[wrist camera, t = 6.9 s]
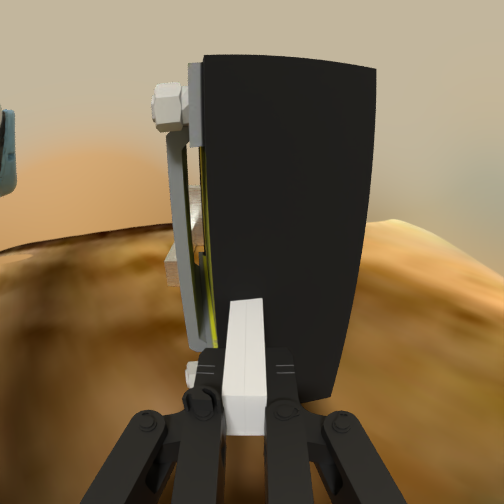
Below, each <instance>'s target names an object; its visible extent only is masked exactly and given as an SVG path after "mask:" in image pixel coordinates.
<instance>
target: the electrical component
mask: <svg viewBox="0 0 504 504" xmlns="http://www.w3.org/2000/svg"><path fill="white" fill-rule="evenodd" d="M151 107H152V119H153V121H154V122H155V123H156V128H157V129H158V130H159V132H169V133H168V134H167V136H166V143H167V160H168V175H169V188H170V200H171V210H172V222H173V231H174V241H175V250H176V258H177V266H178V274H179V282H180V289H181V296H182V303H183V310H184V317H185V323H186V330H187V336H188V342H189V348H190V349H192V350H194V351H196V352H202V351H203V350H204V349H205V348H226V343H227V333H228V322H229V312H230V302H231V301H238V300H248V299H257V298H262V300H263V321H264V343H265V348H273V347H287V348H288V350H289V351H290V352H291V354H292V355H293V362H294V369H295V376H296V383H297V391H298V398H299V402H300V403H305V402H310V401H314V400H319V399H323V398H328V397H331V393H332V390H333V386H334V382H335V378H336V375H337V371H338V367H339V363H340V359H341V355H342V350H343V346H344V342H345V337H346V333H347V329H348V324H349V319H350V314H351V310H352V305H353V299H354V294H355V289H356V284H357V278H358V272H359V266H360V260H361V254H362V248H363V241H364V234H365V227H366V219H367V211H368V203H369V194H370V184H371V173H372V161H373V149H374V132H375V113H376V69H374V68H369V67H364V66H358V65H352V64H346V63H340V62H333V61H325V60H317V59H308V58H298V57H285V56H267V55H204V58H203V62H201V63H188V86H182V87H181V85H180V83H179V82H175V83H164V84H158V85H157V86H156V88H155V93H154V95H153V96H152V102H151ZM189 141H190V147H199V166H200V167H199V168H200V189H201V207H202V224H203V239H204V252H199V266H198V265H197V264H195V263H194V253H193V242H192V230H191V216H190V202H189V187H188V169H187V149H186V144H187V143H188V142H189ZM197 366H198V361H194V362H188V364H187V370H185V373H186V382H187V387H188V388H193V387H194V381H195V376H196V370H197Z"/></svg>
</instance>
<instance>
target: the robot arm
mask: <svg viewBox="0 0 504 504" xmlns="http://www.w3.org/2000/svg"><path fill="white" fill-rule="evenodd" d="M16 184H17V175H16V157H15V113H14V111H13V110H7V109H5V110H3V111H2V109H1V106H0V197H2V196H4V195H7V194H10V193H11V192H13V191H14V189H15V187H16ZM182 400H183V404H184V408H185V409H184V410H182V411H181V412H178V413H175V414H170V415H164V416H162V415H161V414H160V413H158V412H156V411H153V410H144V411H140V412H138V413H136V414H135V415H134V416H133V418H132V419H131V420H130V422H129V424H128V425H127V427H126V428H125V430H124V432H123V433H122V435H121V437H120V438H119V440H118V441H117V443H116V445H115V446H114V448H113V450H112V451H111V453H110V454H109V456H108V458H107V459H106V461H105V463H104V464H103V466H102V467H101V469H100V471H99V472H98V474H97V476H96V477H95V479H94V481H93V482H92V484H91V486H90V487H89V489H88V490H87V492H86V494H85V495H84V497H83V499H82V500H81V502H80V504H157V502H158V500H159V498H160V496H161V494H162V492H163V490H164V488H165V486H166V484H167V481H168V479H169V477H170V475H171V473H172V471H173V469H174V467H175V465H176V462H177V467H176V474H175V480H174V487H173V494H172V501H171V504H224V486H225V467H226V448H227V447H226V435H264V466H265V504H314V500H313V491H312V482H311V473H310V465H309V461H312V462H314V464H315V466H316V468H317V470H318V473H319V475H320V477H321V479H322V482H323V484H324V486H325V488H326V491H327V493H328V495H329V497H330V499H331V502H332V504H407V503H406V501H405V499H404V497H403V496H402V494H401V492H400V490H399V489H398V487H397V485H396V484H395V482H394V480H393V478H392V477H391V475H390V473H389V471H388V470H387V468H386V466H385V465H384V463H383V461H382V459H381V458H380V456H379V454H378V453H377V451H376V449H375V447H374V446H373V444H372V442H371V441H370V439H369V437H368V435H367V434H366V432H365V430H364V429H363V427H362V425H361V424H360V422H359V420H358V419H357V418H356V417H355V415H353V414H351V413H350V412H347V411H335V412H333V413H331V414H329V415H328V416H323V415H317V414H314V413H310V412H309V411H307V410H305V409H304V408H303V407H302V406H301V404H300V402H299V398H298V391H297V383H296V376H295V369H294V362H293V355H292V354H291V352H290V351H289V350H288V348H287V347H273V348H265V343H264V321H263V300H262V298H257V299H248V300H238V301H231V302H230V312H229V322H228V333H227V343H226V348H205V349H204V350H203V351H202V353H201V354H200V355H199V359H198V366H197V370H196V376H195V381H194V387H193V388H190V389H189V390H187V391H186V392H185V393H184V395H183V397H182Z"/></svg>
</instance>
